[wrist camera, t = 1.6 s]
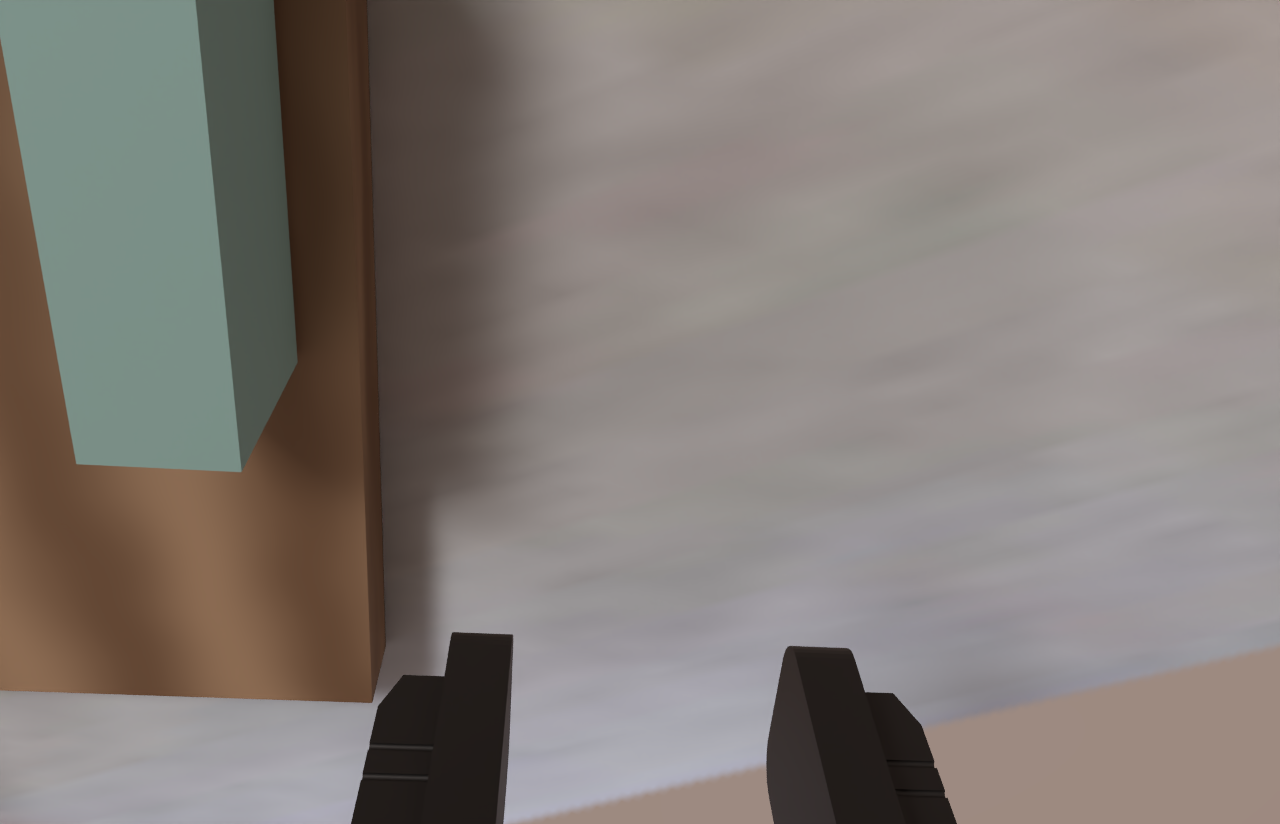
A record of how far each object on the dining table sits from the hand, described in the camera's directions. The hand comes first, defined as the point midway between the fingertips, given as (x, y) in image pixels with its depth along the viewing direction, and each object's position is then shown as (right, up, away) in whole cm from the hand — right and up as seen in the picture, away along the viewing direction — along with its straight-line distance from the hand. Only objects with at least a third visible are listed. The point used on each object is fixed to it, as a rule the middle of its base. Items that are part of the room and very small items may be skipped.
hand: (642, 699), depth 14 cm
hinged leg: (-9, +11, +10) cm, 17 cm away
